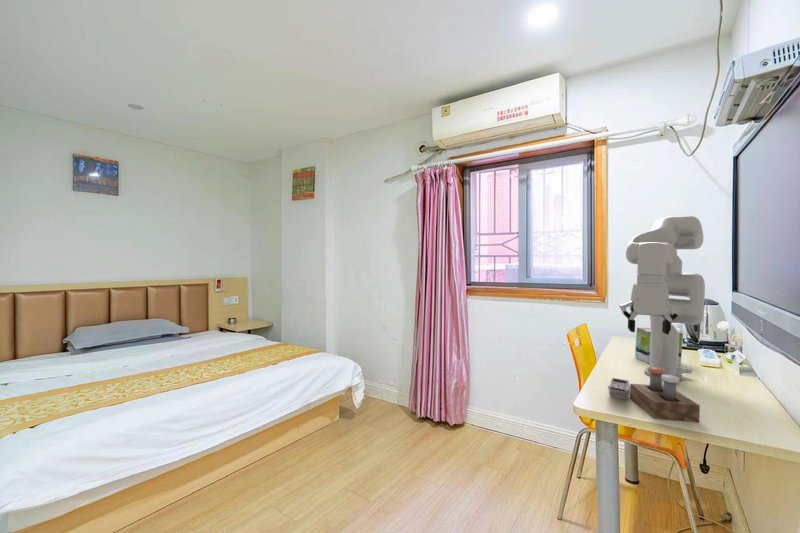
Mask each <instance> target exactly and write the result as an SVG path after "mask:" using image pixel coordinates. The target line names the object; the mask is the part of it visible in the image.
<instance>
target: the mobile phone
mask: <svg viewBox="0 0 800 533" xmlns="http://www.w3.org/2000/svg"><path fill="white" fill-rule="evenodd" d="M607 388H608V392H609V396H610V397H613V398H614V397H615V398H618V399H623V400H627V399H628V397H629V395H630V381H629V380H628V379H625V378H617V377H611V380H610V383H609V385H607Z"/></svg>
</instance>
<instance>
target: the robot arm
mask: <svg viewBox="0 0 800 533" xmlns="http://www.w3.org/2000/svg"><path fill="white" fill-rule="evenodd" d="M699 219H700V218H698V217H696V216H693V215H682V216H680V215H679V216H666V217H662V218H659V219H657V220H656V221H655V222H654V224H653V227H652V228H651V230H647V231H646V232H643V233H641V234H638V235H636V236H635V235H634V236H633V237H632V239H630V241H629V243H628V245H627V247H626V250H625V257H626V260H627V261H628V263H630V264H632V265H637V267H636V268H637V270H636V273H637V274H636V275H637V276H636V283H633V285H632V288H631V289H632V290H631V294H630V301H627V302H625V303H623V304H620V305H618V306H619V309H620V311H621V313H622V315H624V316H625V317H626V318H627V329H628V330H629V332H631V333H635V332H636V320H635V319H636V317H637V316H639V315H640V316H641V315H642V316H649V320H650V321H649V322H650V328H651V333H650V358H649V363H648V364H649V367H658V368H662V369H664V370H665V374H667V375H673V376H676V377H679V381H680V380H683V378H684V377H683V375H682V374H684V373H685V374H693V371H692V368H687V367H684V366H680V365H679V364H678V356H679V333H678V332H679V331H678V329H677V328H676V326H674V323H675V324H684V325H696V326H697V325H700V324H701V323H702V322H703V320H704V313H705V294H706V292H705V291H706V287H705V286H706V283H705V279H704V276H702V274H700V273H694V272H683V270H682V269H683V260H682V259H681V257H679V255H678V250H698V249H700V248H701V247H702V246H703V243H704V232H703V231H704V230H703V227H702V222H701V221H700V220H699ZM671 297H683V298H685V297H686V298H688V299H683V298H682V299H680V298H671ZM627 308H629V310H630V312H628V311H627ZM644 374H645V375H647V376H649V377H650V372H648V367H647V368H645V369H644Z"/></svg>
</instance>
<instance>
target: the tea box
mask: <svg viewBox="0 0 800 533" xmlns="http://www.w3.org/2000/svg"><path fill="white" fill-rule="evenodd" d="M650 333H651V327H637V328H636V335H635V337H636V338H635V352H634V353H635V354H634V358H636V359H638V360H640V361H642V362H644V363H646V364H649V358H650ZM678 333H679V356H678V365H681V364H682V353H683V351H682V349H683V336H684V334H683V332H680V331H678Z"/></svg>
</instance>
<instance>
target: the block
mask: <svg viewBox="0 0 800 533" xmlns="http://www.w3.org/2000/svg"><path fill="white" fill-rule="evenodd" d="M629 399H630V400H631V401H633V402H634V403H635V404H636V405H637V406H638V407H640V408H641V409H642V410H643V412H645V413H647V415H650V417H651V418H653V419H654V420H666V421H680V422H688V423H689V422H693V423H700V409H701V408H700V407H701V405H700V404H698V403H697V402H695V401H693V400H692V399H690V398H689V397H688V396H686V395H684V394H682V393H681V392H679V391H678V390H676V401H665V400H664V399H663V385H662V392H658V391H651V390H650V384H641V383H629Z"/></svg>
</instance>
